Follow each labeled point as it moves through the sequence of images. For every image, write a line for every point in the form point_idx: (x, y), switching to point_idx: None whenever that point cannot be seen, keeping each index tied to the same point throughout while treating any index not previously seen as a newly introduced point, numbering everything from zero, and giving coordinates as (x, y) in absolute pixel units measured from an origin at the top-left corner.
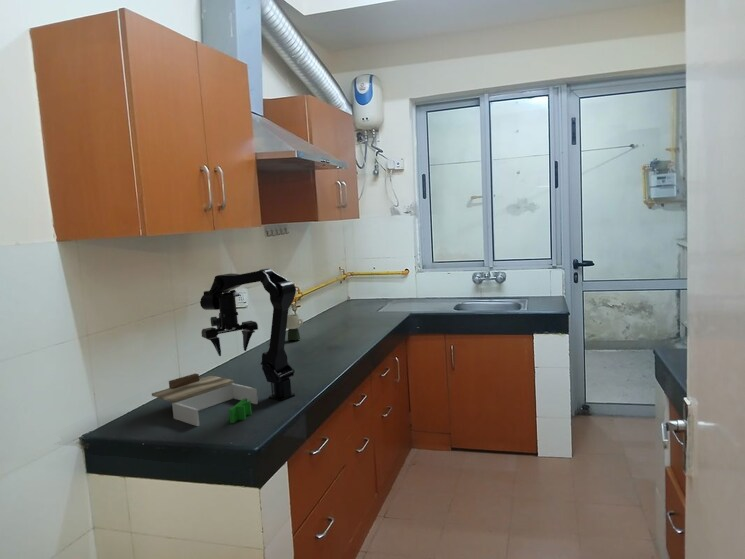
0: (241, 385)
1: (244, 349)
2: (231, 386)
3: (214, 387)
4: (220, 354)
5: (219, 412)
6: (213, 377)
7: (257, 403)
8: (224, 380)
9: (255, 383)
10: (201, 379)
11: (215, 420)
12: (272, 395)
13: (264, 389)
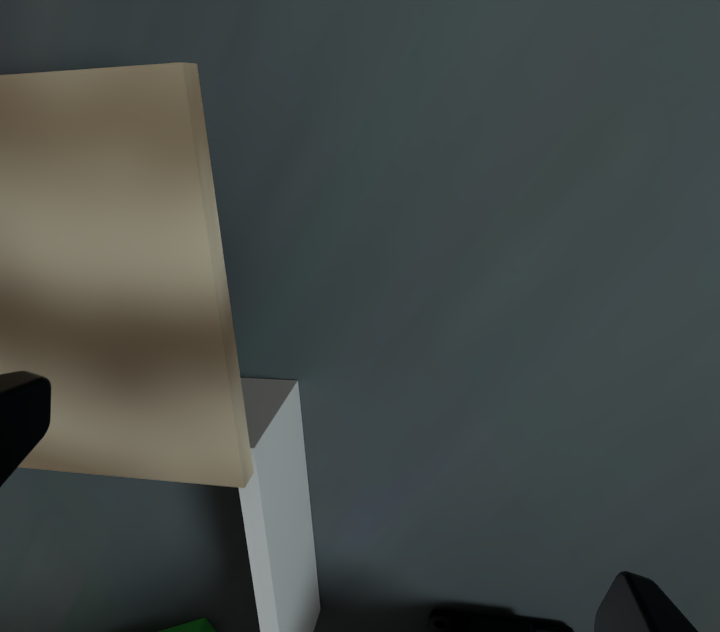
0: (265, 564)
1: (609, 627)
2: None
3: (47, 464)
4: (11, 458)
5: (93, 515)
6: (156, 186)
7: (317, 609)
8: (184, 407)
9: (702, 226)
10: (24, 119)
11: (35, 578)
12: (458, 629)
13: (575, 451)
